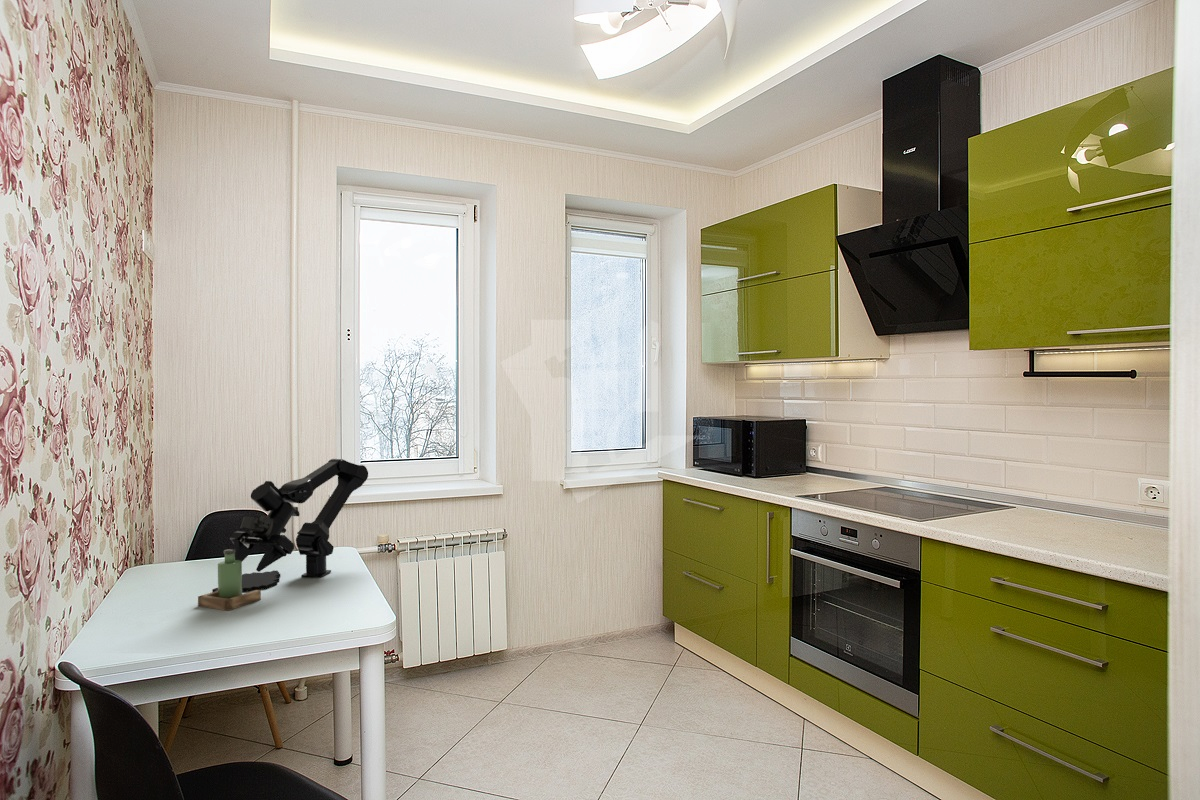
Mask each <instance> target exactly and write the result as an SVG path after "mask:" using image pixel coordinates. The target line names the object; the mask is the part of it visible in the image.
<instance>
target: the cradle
mask: <svg viewBox="0 0 1200 800" xmlns="http://www.w3.org/2000/svg"><path fill="white" fill-rule="evenodd" d="M261 590H262V589H261ZM261 590H253V591H250V592H244V593H242V595H239V596H236V597H233V598H230V599H227V598H220V597H218V591H215V592H212V591H211V592H210V593H205V594H203V595H199V596H197V606H198V607H200V608H201V607H202V608H209V609H215V610H221V611H228V612H229V611H233V609H236V608H240V607H243V606H246V605H249V604H251V603H255V602H258V601H260V600H262V596H261V595H262V594H261V593H262V591H261Z"/></svg>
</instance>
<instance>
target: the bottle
mask: <svg viewBox="0 0 1200 800" xmlns="http://www.w3.org/2000/svg"><path fill="white" fill-rule="evenodd" d="M223 554H224V560H223V561H220V562H218V563H217V588H218V597H220V598H227V599H230V598H233V597H236V596H239V595H242V594H243V592H242V574H243V561H240V560H235V548H230V549H224V550H223Z"/></svg>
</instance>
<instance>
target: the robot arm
mask: <svg viewBox="0 0 1200 800" xmlns="http://www.w3.org/2000/svg"><path fill="white" fill-rule="evenodd" d="M336 476H337V485H336V487H335V488H334V490H333V492H332V493H331V495H330V496H329V498H328V499H327V501H326V502H325V504H324V505H323V506H322V509H321V510H320V512H319V513H318V514H317V516H316V518H315V519H314V520H313V521H312V522H304V523H303V524H302V525H301V528H300V530H299V531H297V533H296V535H297V536H296V537H295V543H293V541H292V540H290V538H288V537H287V535H285V534H286V532H287V529H286V526H287V524H288V523H289V522H290V520H291V518H292V517H300V515H301V514H300V510H299V507H298V506H294V505H293V504H304V503H305V502H307V501H308V500H309V499H310V498H311V497H312V496H313V493H314V491H315V490H316V489H318V488H319V487H320V486H322V485H324V484H325V483H326V482H328V481H329V480H331V479H332V478H334V477H336ZM368 477H369V471H368V468H367V466H365V465H363V464H356V463H353V462H350V461H348V460H345V459H343V458H332V459H329V460H328V461H327V462H326V463H324V464H322V466H320V467H318V468H317V469H315V470H313V471H312V472H311V473H309V474H307V475H305V476H304V477H302V478H298V479H295V480H291V481H289V482H284V484H283V485H281V486H280V487H279V488H278V487H276V485H275V483H274V482H273V481H271V480H265V482H263V484H260V485H258V486H257V487H256V488H254V489H252V492H251V493H250V499H251V500H252V501H253V502H254V503H255V504H256V505H258V506H259V508H260V509H261V510H263V511H264V512H268V513H267V515H261V516H260V517H254V516H244V517H243V519H242V521H241V525H240V529H242V530H243V529H245V530H248V531H249V533H250V534H251V535H250V534H249V533H248V532H247V531H240V530H237V531H233V532H232V534H231V535H230V537H229V540H230V541H231V542H232V544H233V546H234V549H235V560H240V561H242V562H244V560H246V558H248V557H249V555H251V553H252V550H253V549H255V548H256V546H263V547H264V546H265V547H266V548H265V549H266V550H265V552H264V554H263V556H261V559H260V561H259V563H258V564H257V567H256V569H255V571H257V573H261V571H263V570H265V568H267V567H269V566H271V565H272V564H273V563H275V562H276V561H278V560H280V559H281V558H283V557H286V556H287V555H291V554H292V553H293V551H294V550H295V544H296V547H297V549H298V553H299V555H300V556H302V555H304V556H305V573H303V574H301V577H302V578H322V577H325V576H326V575H328V574H330V573H331V572H332V569H327V557H328V556H330V555H332V554H333V552H334V548H335V547H334V546H333V544H332V543H330V540H329V539H330V528H331V526H332V525H333V523H334V521H335V520H336V518H337V517H338V515H339V513H340V511H342V509H343V507H344V506H345V504H346V502H347V501H348V500H349V497H350V496H351V495H352V493H353V492H354V491H356V490H357V489H359V488H361V487H362V485H363V484H365V483H366V481H367V480H368ZM252 535H253V536H252Z"/></svg>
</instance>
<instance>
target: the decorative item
mask: <svg viewBox="0 0 1200 800" xmlns="http://www.w3.org/2000/svg"><path fill="white" fill-rule="evenodd" d="M280 578H281V573H280V572H279V570H275V569H274V570H272V571H263V572H255V571H254V572H251V573H242V593H248V592H252V591H255V590H269V589H270V588H272V587H276V586H277V585H278V583H280ZM215 591H218V587H215V588H212V591H211V593H212V592H215Z"/></svg>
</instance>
